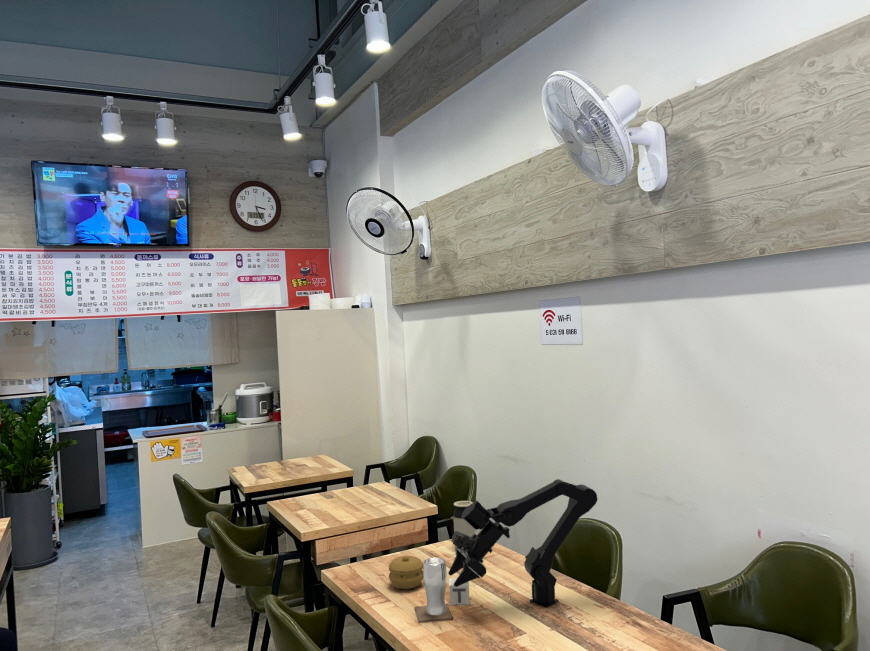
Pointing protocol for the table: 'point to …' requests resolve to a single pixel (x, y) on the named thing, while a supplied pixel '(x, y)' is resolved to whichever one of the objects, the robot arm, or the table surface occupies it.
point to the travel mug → (459, 522)
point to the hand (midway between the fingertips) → (452, 580)
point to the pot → (406, 572)
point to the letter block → (458, 593)
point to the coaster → (424, 617)
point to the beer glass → (435, 585)
